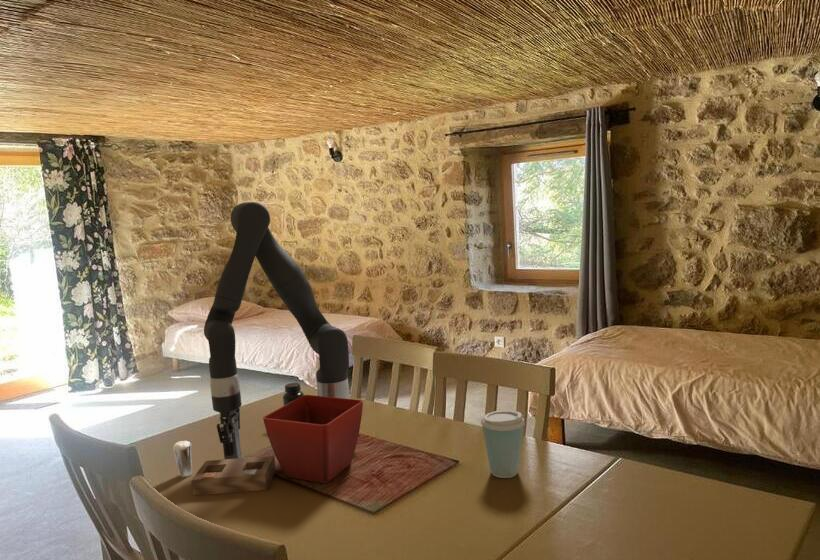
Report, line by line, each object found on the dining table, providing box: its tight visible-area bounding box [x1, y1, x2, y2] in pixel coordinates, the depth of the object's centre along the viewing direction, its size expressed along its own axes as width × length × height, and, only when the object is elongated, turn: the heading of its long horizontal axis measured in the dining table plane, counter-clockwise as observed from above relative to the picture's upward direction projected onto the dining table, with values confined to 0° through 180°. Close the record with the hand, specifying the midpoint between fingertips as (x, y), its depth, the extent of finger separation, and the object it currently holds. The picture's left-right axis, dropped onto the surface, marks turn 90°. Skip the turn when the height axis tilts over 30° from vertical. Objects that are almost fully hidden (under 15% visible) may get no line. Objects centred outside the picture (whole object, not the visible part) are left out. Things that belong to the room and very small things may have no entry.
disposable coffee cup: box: [480, 409, 526, 479], centre depth 149 cm, size 11×11×15 cm
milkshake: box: [172, 438, 193, 478], centre depth 161 cm, size 4×5×10 cm
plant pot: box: [262, 394, 364, 484], centre depth 157 cm, size 19×19×17 cm
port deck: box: [191, 455, 277, 496], centre depth 155 cm, size 18×11×4 cm, turn 91°
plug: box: [222, 422, 243, 460], centre depth 167 cm, size 4×4×12 cm
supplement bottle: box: [282, 382, 305, 406], centre depth 196 cm, size 7×7×12 cm
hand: (232, 451), depth 167 cm, fingers open, 4 cm apart
